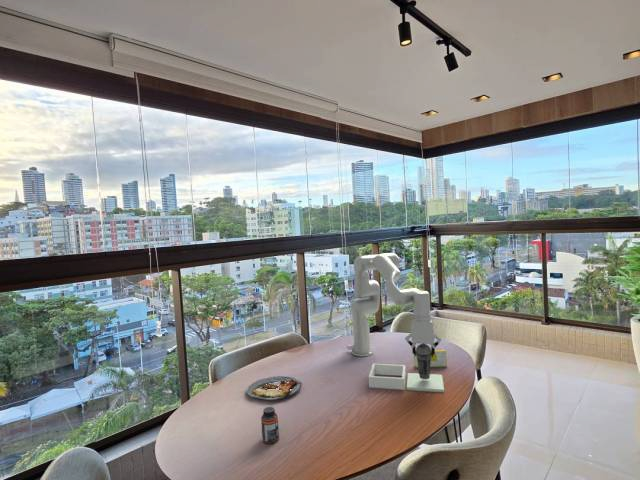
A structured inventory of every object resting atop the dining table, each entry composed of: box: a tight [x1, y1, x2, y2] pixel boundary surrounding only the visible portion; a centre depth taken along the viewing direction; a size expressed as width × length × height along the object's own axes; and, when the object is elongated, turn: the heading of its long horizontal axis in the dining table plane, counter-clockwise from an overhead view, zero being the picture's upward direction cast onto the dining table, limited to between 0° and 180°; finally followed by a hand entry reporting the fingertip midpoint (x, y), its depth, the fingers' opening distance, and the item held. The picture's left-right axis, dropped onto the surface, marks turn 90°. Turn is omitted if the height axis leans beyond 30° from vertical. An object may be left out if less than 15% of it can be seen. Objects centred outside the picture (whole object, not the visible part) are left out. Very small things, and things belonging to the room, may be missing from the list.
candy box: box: [413, 349, 448, 368], centre depth 188 cm, size 16×2×8 cm, turn 84°
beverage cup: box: [416, 343, 432, 379], centre depth 168 cm, size 7×7×20 cm
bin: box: [368, 363, 407, 391], centre depth 173 cm, size 16×16×5 cm
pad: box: [406, 372, 445, 393], centre depth 169 cm, size 16×16×1 cm
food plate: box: [246, 375, 302, 401], centre depth 170 cm, size 25×23×4 cm
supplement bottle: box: [260, 406, 280, 445], centre depth 130 cm, size 6×6×11 cm
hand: (423, 355), depth 168 cm, fingers closed on beverage cup, 7 cm apart
